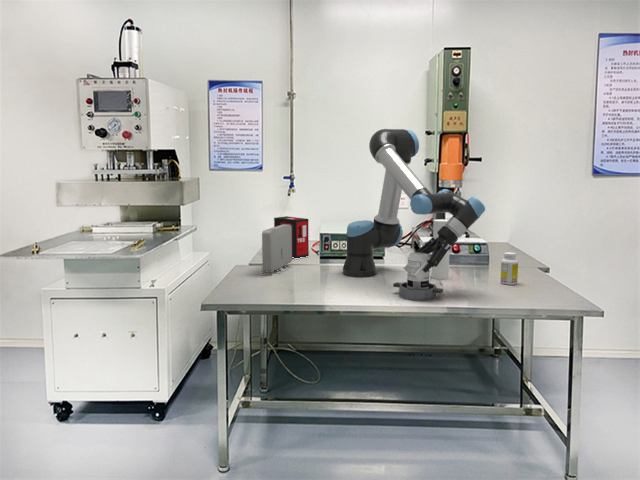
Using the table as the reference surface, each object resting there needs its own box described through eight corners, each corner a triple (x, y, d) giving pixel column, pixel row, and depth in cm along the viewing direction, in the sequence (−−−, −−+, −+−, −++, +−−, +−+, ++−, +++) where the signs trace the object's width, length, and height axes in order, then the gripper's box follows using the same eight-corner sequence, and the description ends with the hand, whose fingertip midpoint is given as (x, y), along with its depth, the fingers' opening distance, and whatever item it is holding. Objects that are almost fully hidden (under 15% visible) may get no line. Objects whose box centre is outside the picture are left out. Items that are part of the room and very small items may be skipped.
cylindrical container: (448, 279, 236) (450, 221, 233) (431, 278, 238) (433, 221, 234) (448, 275, 243) (450, 219, 239) (431, 275, 245) (433, 219, 241)
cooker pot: (386, 296, 209) (387, 285, 208) (402, 288, 220) (402, 279, 219) (434, 303, 198) (434, 293, 198) (448, 295, 210) (448, 285, 209)
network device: (275, 276, 242) (274, 231, 238) (257, 275, 244) (256, 230, 241) (296, 265, 266) (296, 224, 262) (279, 264, 268) (279, 223, 265)
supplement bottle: (517, 282, 231) (518, 252, 229) (517, 285, 225) (518, 255, 223) (500, 281, 233) (501, 251, 231) (499, 284, 227) (501, 254, 225)
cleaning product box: (274, 255, 293) (274, 217, 290) (286, 253, 299) (286, 216, 296) (296, 259, 281) (296, 220, 278) (308, 256, 288) (308, 218, 285)
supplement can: (404, 290, 213) (405, 252, 211) (425, 290, 214) (426, 252, 211) (409, 296, 205) (410, 256, 203) (431, 295, 206) (432, 256, 203)
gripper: (471, 243, 197) (429, 287, 197) (444, 234, 220) (406, 273, 220) (458, 229, 196) (415, 274, 195) (432, 221, 218) (394, 261, 218)
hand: (411, 274), depth 207 cm, fingers open, 11 cm apart
